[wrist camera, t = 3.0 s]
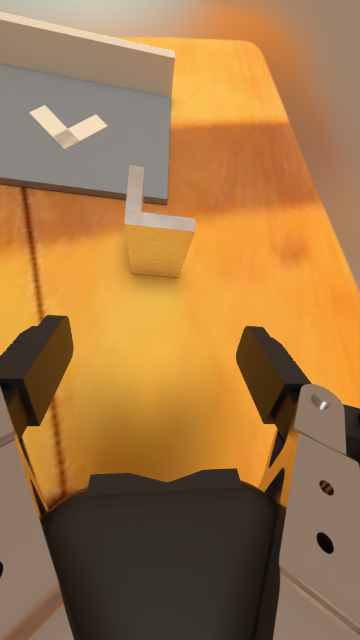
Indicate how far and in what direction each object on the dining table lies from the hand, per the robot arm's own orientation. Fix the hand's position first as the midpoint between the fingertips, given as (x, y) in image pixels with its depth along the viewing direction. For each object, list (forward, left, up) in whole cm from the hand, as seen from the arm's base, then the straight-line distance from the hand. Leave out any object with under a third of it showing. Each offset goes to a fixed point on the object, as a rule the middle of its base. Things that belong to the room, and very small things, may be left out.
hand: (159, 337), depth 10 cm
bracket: (0, +12, -14) cm, 19 cm away
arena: (-11, +28, -14) cm, 33 cm away
